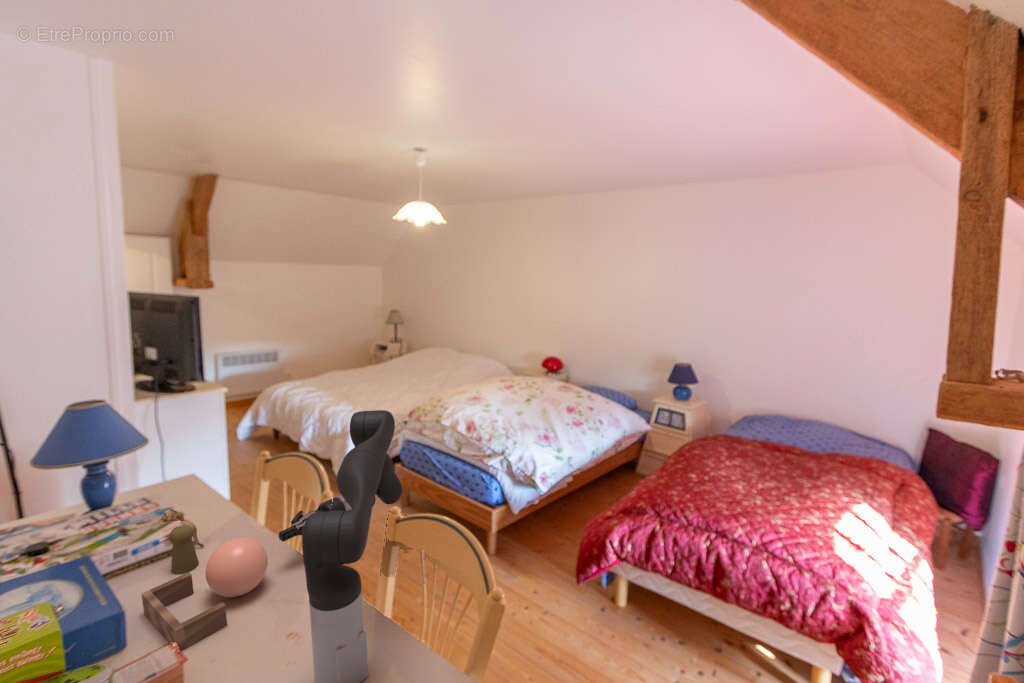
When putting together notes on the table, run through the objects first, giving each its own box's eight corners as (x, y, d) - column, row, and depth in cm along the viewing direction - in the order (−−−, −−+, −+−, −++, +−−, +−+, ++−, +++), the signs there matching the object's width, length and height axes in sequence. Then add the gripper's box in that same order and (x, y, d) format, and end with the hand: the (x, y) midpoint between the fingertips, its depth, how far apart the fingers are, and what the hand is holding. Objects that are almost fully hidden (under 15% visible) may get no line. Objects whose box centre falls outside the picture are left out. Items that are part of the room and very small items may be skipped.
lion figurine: (157, 543, 137) (153, 513, 136) (175, 533, 142) (172, 504, 141) (195, 553, 132) (192, 522, 131) (213, 542, 137) (210, 513, 136)
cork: (185, 575, 123) (180, 535, 121) (165, 572, 124) (160, 532, 122) (204, 561, 129) (200, 523, 127) (185, 558, 130) (181, 520, 128)
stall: (227, 625, 106) (225, 604, 105) (177, 653, 98) (175, 631, 98) (191, 591, 117) (189, 572, 116) (144, 613, 109) (141, 593, 109)
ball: (280, 587, 118) (276, 538, 116) (223, 618, 108) (218, 565, 106) (253, 567, 126) (249, 521, 124) (198, 594, 116) (193, 544, 114)
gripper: (325, 490, 141) (266, 515, 127) (353, 504, 133) (293, 532, 119) (327, 514, 142) (268, 541, 128) (354, 529, 134) (295, 560, 120)
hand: (280, 537), depth 124 cm, fingers closed
